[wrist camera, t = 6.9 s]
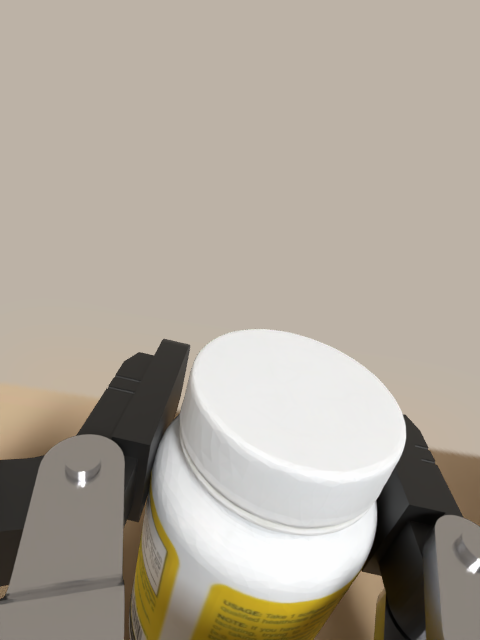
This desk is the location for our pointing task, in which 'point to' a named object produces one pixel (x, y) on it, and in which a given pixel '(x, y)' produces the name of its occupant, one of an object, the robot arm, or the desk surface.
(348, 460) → the supplement bottle
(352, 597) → the desk surface
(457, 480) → the desk surface
